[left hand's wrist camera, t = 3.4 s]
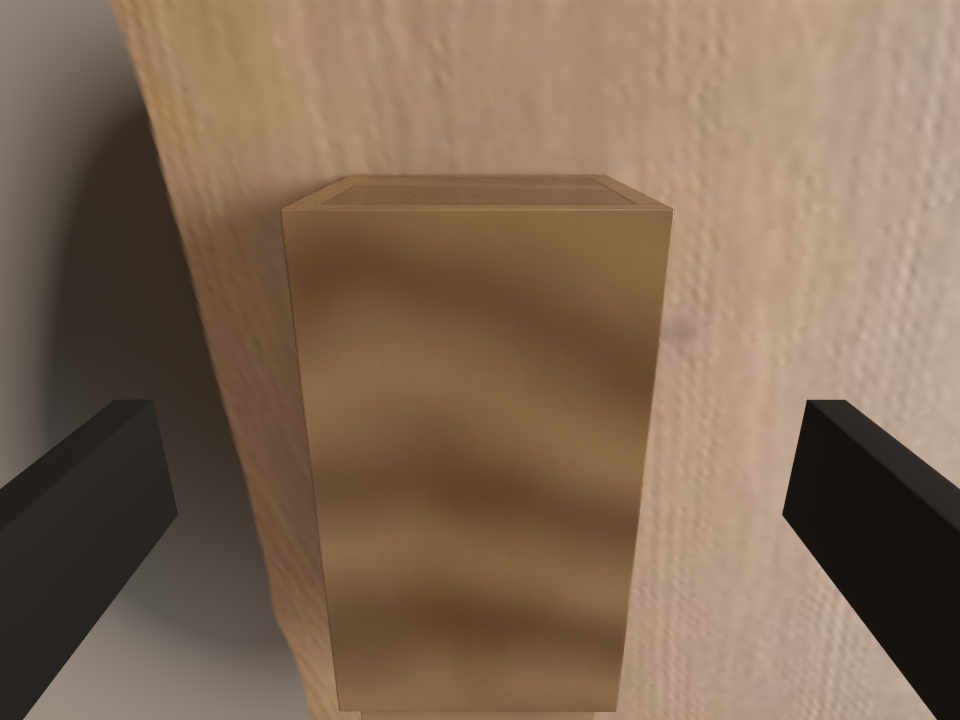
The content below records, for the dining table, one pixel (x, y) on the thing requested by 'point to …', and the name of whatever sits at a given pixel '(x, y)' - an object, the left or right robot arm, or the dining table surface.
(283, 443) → the dining table surface
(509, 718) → the drawer
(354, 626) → the cabinet
